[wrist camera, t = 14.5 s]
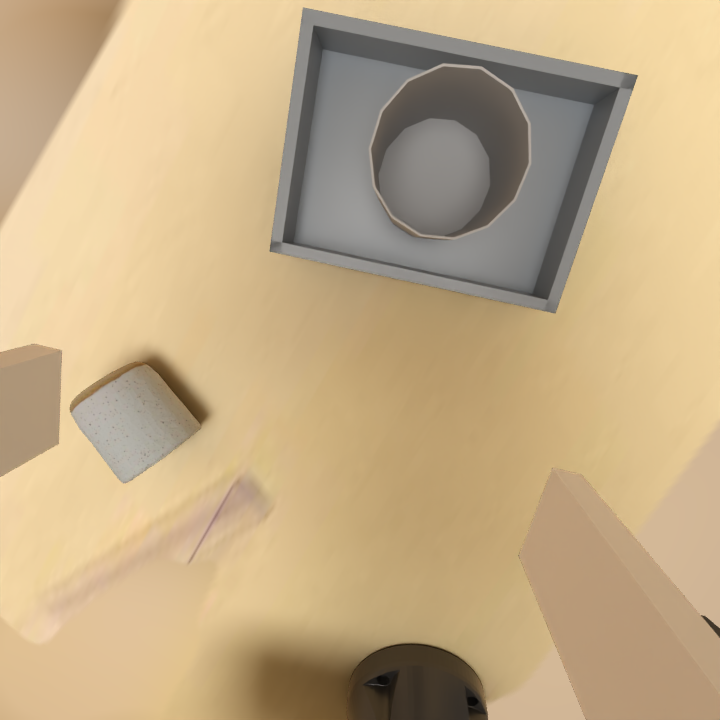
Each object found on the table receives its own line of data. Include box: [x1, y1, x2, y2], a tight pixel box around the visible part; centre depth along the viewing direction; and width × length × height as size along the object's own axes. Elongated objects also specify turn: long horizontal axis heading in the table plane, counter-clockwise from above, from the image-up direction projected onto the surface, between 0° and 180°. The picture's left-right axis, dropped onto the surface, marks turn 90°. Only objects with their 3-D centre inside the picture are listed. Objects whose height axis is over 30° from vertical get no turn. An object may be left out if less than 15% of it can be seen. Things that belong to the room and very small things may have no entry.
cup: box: [369, 63, 531, 240], centre depth 27 cm, size 8×8×10 cm
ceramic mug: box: [70, 362, 201, 483], centre depth 36 cm, size 11×8×8 cm
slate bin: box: [270, 8, 638, 313], centre depth 30 cm, size 15×21×4 cm
